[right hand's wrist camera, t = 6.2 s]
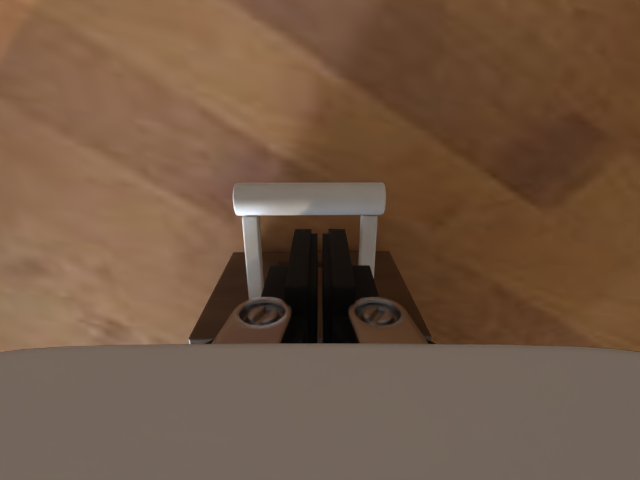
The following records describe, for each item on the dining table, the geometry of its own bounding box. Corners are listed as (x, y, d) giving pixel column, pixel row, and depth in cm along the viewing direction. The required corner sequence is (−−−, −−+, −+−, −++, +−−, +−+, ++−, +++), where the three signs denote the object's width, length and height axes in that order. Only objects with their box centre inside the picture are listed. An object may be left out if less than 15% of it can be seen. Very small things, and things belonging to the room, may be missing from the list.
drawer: (224, 158, 19) (164, 198, 11) (396, 158, 19) (452, 197, 11) (252, 453, 27) (229, 591, 19) (373, 452, 27) (396, 587, 19)
